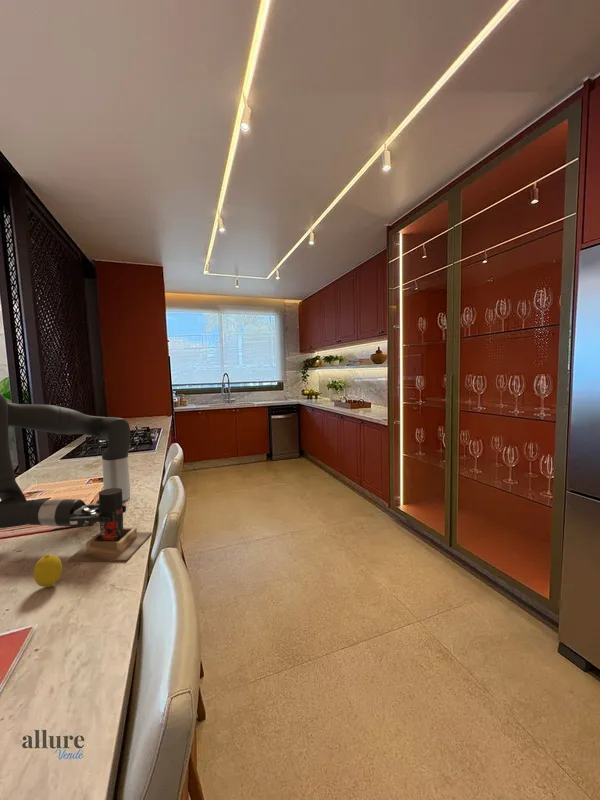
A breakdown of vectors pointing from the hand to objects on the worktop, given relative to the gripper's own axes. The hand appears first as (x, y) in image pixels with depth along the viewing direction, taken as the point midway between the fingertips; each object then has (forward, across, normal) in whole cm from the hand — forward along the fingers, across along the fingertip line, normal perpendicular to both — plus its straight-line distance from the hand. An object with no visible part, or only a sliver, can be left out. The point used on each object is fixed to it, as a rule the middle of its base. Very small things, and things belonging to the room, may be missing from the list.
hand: (119, 513), depth 101 cm
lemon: (-7, -19, +10) cm, 23 cm away
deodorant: (-2, 0, +9) cm, 9 cm away
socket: (-2, 0, +10) cm, 10 cm away
